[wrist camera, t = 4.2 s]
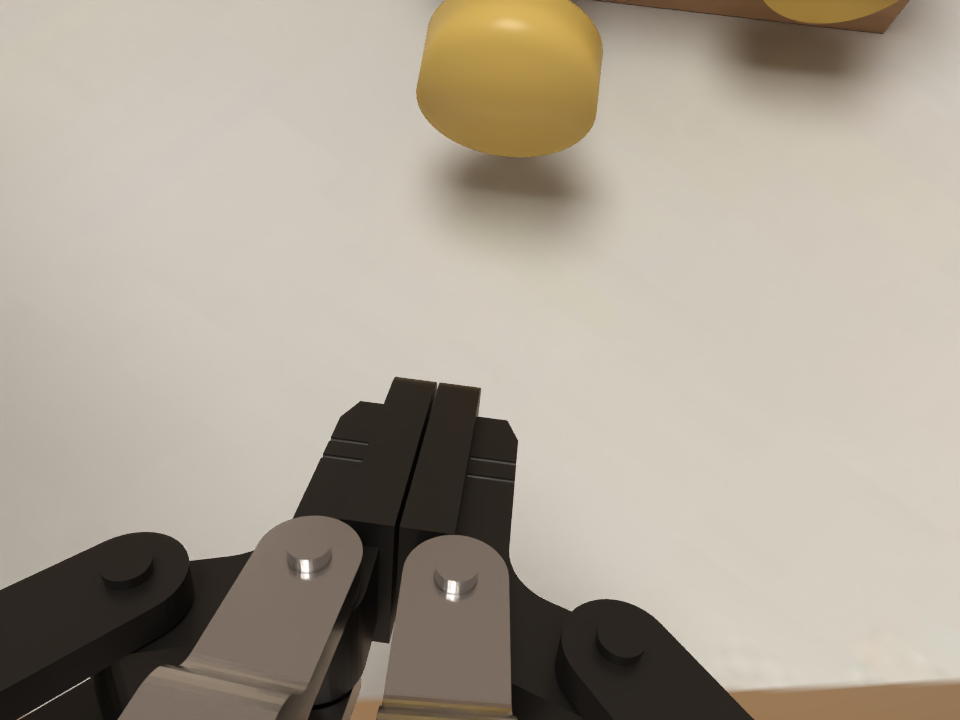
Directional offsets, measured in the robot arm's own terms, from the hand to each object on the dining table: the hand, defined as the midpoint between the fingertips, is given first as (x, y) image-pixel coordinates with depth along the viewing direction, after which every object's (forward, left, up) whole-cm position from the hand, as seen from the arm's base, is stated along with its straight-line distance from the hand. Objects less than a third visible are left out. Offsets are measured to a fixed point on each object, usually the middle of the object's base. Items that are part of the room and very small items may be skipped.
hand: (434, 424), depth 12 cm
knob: (+16, +13, -13) cm, 24 cm away
